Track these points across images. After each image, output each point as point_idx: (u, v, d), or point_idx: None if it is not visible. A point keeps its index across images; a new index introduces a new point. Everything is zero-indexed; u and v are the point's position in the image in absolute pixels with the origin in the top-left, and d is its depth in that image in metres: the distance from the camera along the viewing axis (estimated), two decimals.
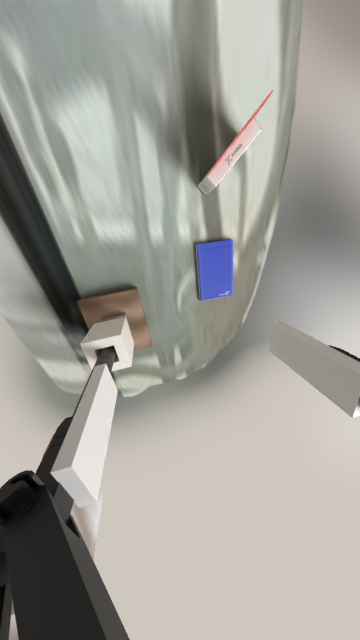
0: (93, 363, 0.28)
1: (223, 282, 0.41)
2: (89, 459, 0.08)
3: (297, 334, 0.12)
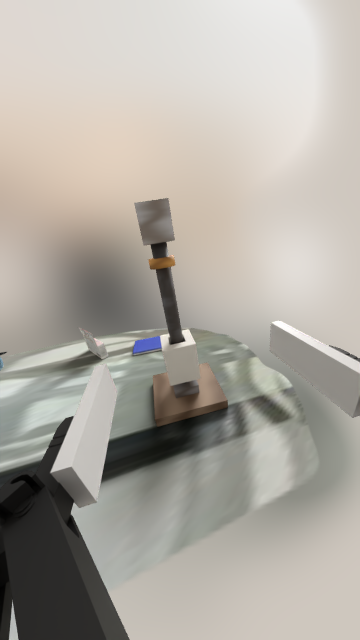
0: (182, 344, 0.31)
1: (159, 338, 0.61)
2: (89, 459, 0.08)
3: (297, 334, 0.12)
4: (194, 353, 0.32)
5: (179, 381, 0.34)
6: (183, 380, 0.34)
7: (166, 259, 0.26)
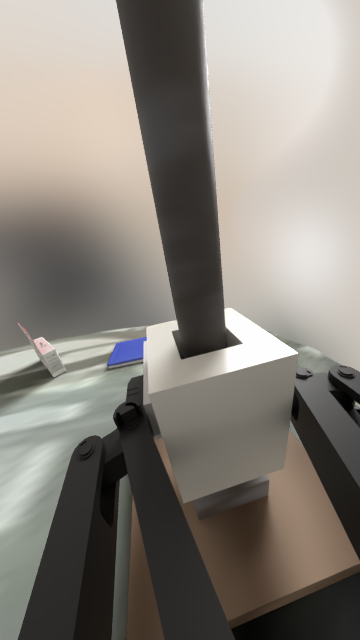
0: (237, 358, 0.07)
1: None
2: None
3: None
4: (283, 391, 0.08)
5: (216, 487, 0.09)
6: (229, 482, 0.10)
7: None
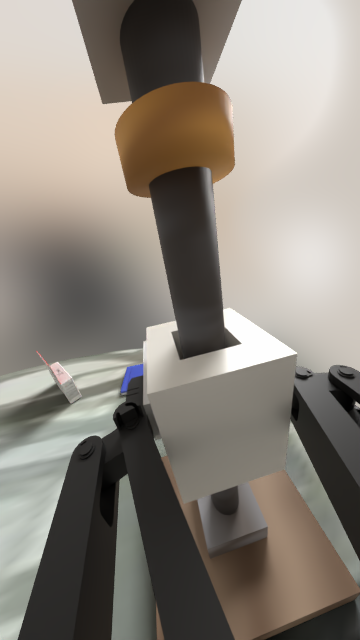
0: (236, 358, 0.07)
1: None
2: None
3: None
4: (282, 391, 0.08)
5: (216, 487, 0.09)
6: (229, 482, 0.09)
7: (207, 98, 0.05)
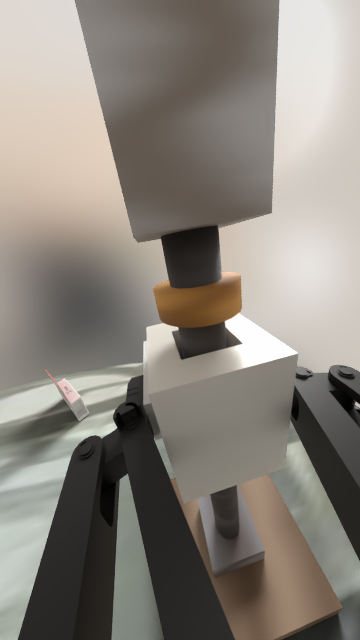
0: (237, 358, 0.07)
1: None
2: None
3: None
4: (283, 391, 0.08)
5: (216, 487, 0.09)
6: (229, 481, 0.10)
7: (225, 293, 0.07)
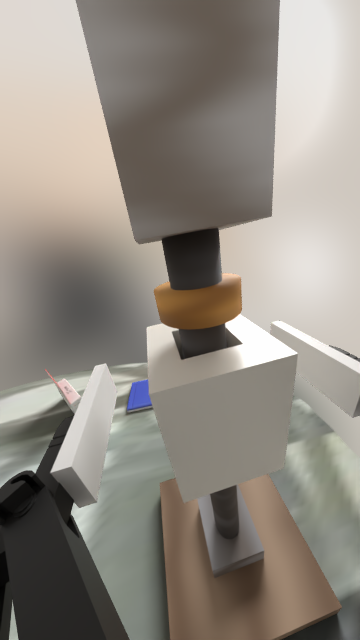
0: (237, 358, 0.07)
1: None
2: (89, 459, 0.08)
3: (297, 334, 0.12)
4: (283, 391, 0.08)
5: (216, 486, 0.10)
6: (229, 481, 0.10)
7: (225, 295, 0.07)
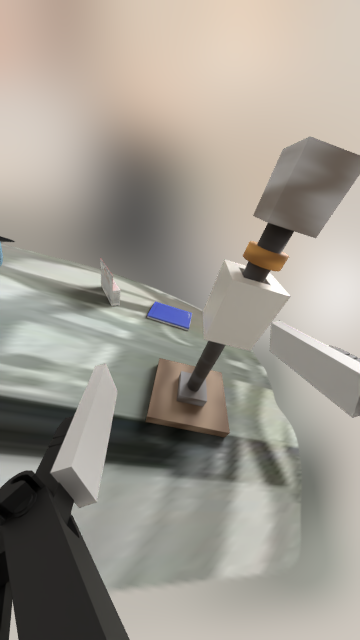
0: (267, 287, 0.17)
1: (180, 313, 0.54)
2: (89, 459, 0.08)
3: (297, 334, 0.12)
4: (274, 310, 0.18)
5: (220, 340, 0.21)
6: (226, 341, 0.21)
7: (280, 259, 0.16)
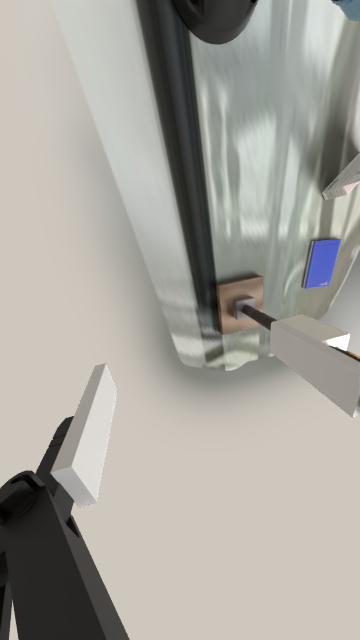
0: None
1: (325, 274, 0.49)
2: (89, 459, 0.08)
3: (297, 334, 0.12)
4: None
5: None
6: None
7: None
